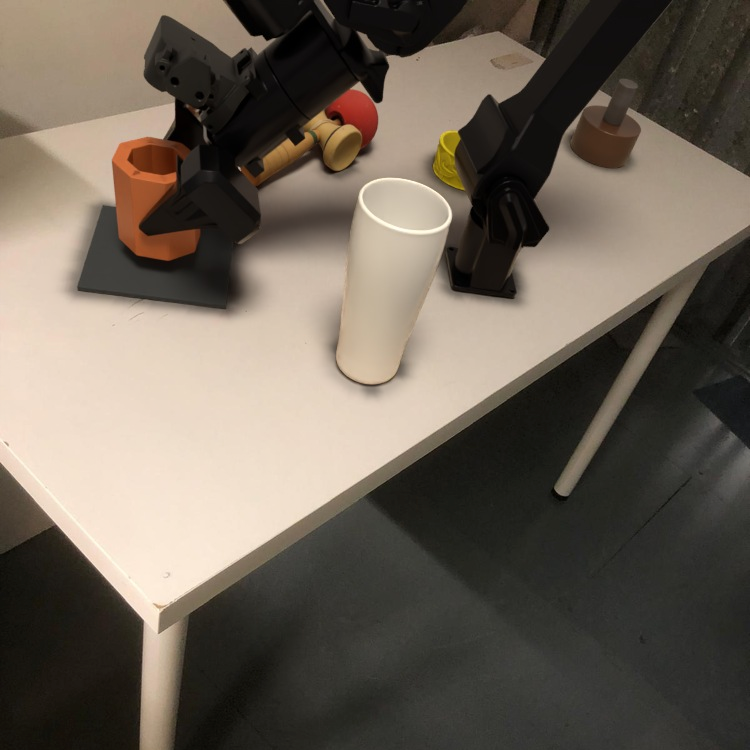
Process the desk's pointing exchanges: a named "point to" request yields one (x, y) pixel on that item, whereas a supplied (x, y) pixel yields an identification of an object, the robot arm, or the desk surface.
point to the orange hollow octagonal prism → (148, 195)
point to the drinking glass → (388, 273)
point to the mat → (157, 268)
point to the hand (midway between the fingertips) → (143, 205)
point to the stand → (608, 129)
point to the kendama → (328, 136)
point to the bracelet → (447, 159)
